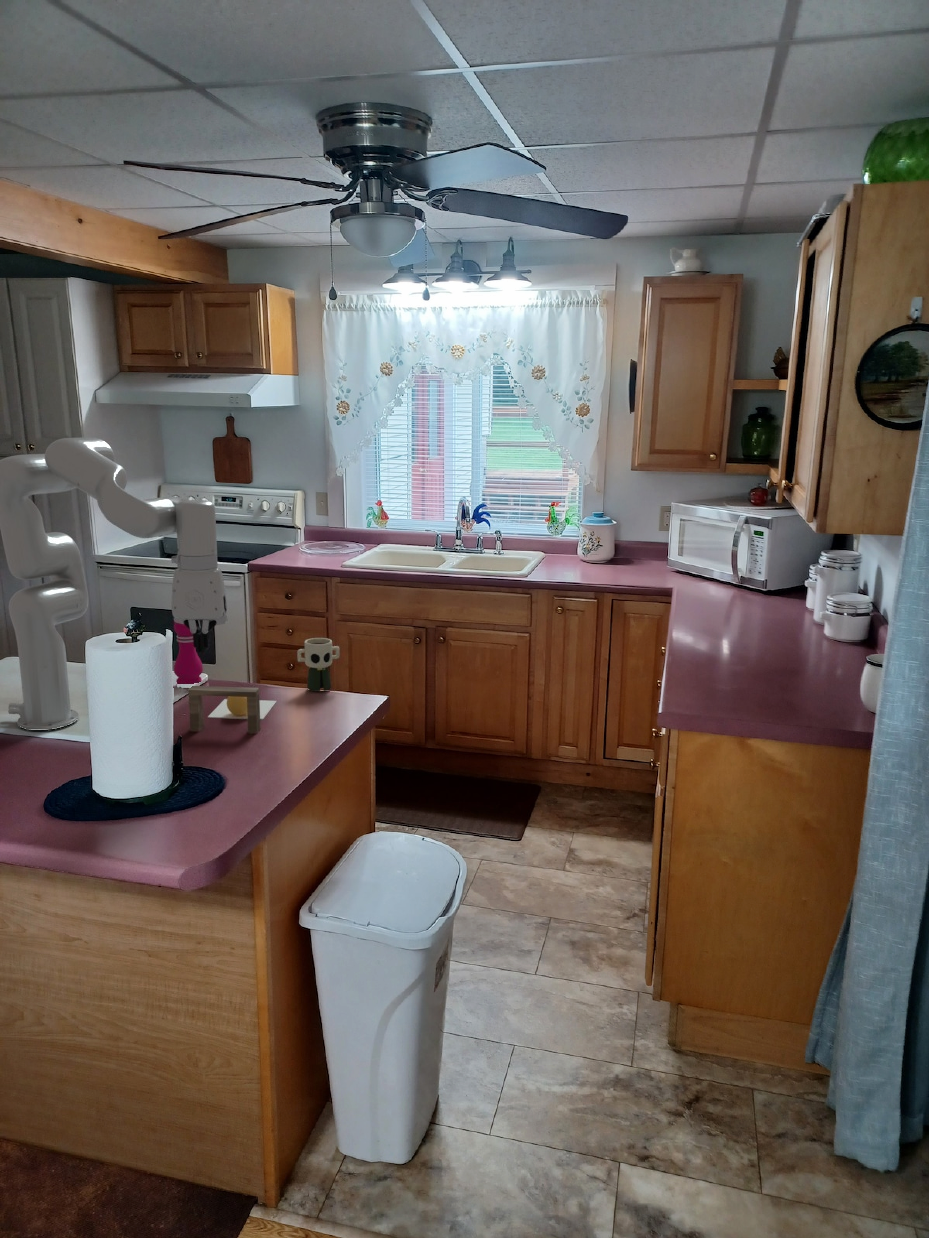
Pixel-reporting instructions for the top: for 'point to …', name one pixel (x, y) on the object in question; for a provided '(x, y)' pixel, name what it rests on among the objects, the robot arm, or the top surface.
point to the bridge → (250, 693)
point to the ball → (237, 705)
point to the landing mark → (225, 713)
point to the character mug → (318, 662)
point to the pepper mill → (186, 657)
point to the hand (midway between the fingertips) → (202, 650)
